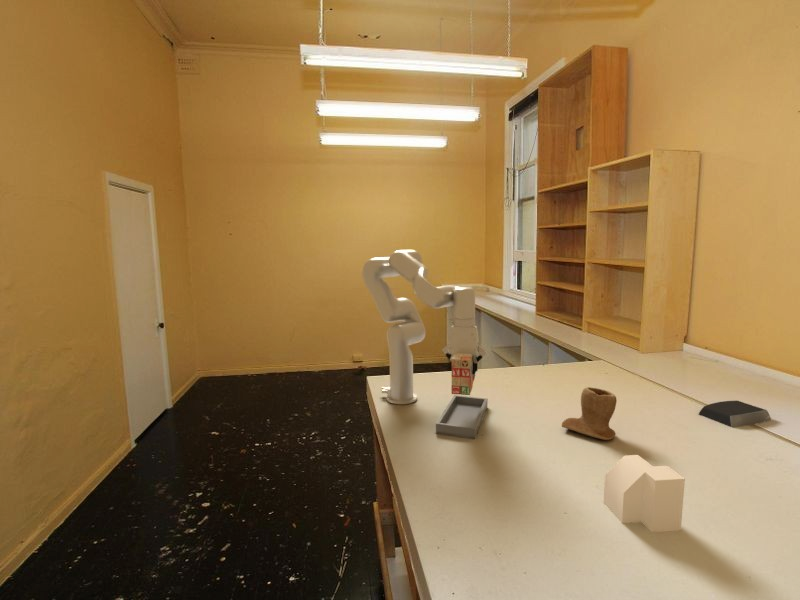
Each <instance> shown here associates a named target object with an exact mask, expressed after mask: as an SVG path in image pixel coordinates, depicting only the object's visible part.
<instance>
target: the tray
mask: <svg viewBox="0 0 800 600" xmlns="http://www.w3.org/2000/svg"><path fill="white" fill-rule="evenodd" d="M487 410H488V398H483V397H475V396H468V395H459V394H453V396H452V398H451V399H450V401H449V403H448V404H447V406H446V407H445V409H444V410H443V412H442V414H441V415H440V417H439V418H438V420H437V421H436V423H435V434H437V435H443V436H451V437H456V438H457V437H458V438H463V439H471V440H475V439H476V437H477V434H478V433H479V430H480V428H481V425H482V421H483V419H484V417H485V415H486V412H487Z"/></svg>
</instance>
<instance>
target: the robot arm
mask: <svg viewBox="0 0 800 600" xmlns="http://www.w3.org/2000/svg"><path fill="white" fill-rule="evenodd" d="M361 273H362V280H363V283H364V285H365V286H366V289H367V290H368V291H369V293H370V295H371V296H372V299H373V302H374V304H375V306H376V309H377V311H378V313H379V315H380V317H381V319H382V320H383V322H385V323H387V324H388V323H389V324H390V323H391V324H392V323H395V324H392V325H391V326H390V327H389V328H388V329H387V331H386V341H387V347H388V355H389V356H388V357H389V386H388V387H386V386H381V388H380V391H381V393H382V394H386V397H385V398H386V401H387V402H388V403H391V404H394V405H409V404H413V403H414V402H416V401H417V400H418V395H417V393H415V392H414V363H413V362H414V357H413V352H412V351H411V349H410V346H411V345H415V344H417V343H420V342H422V341H424V340H425V337H426V328H425V325H424V322H423V320H422V318H421V316H420V314H419V311H418V310H417V307H416V305H415V303H414V302H413V301H412V300H411V299H410V298H407V297H398V298H397V297H396V296H395V295H394V293H393V290H392V288H391V286H390V285H389V284H388V283H387V282H386V281H385V280H384V279H383V278H394V277H400V276H401V277H402V278H403V279H405V280H406V281H407V282H409V283H410V284H411V286H412V289H413V292H414V294H415V296H416V297H417V298H418V299H419V300H420V301H422V302H423V303H424V304H426V306H428V307H430V308H433V309H441V308H447V307H453V309H452V311H453V312H452V314H453V317H452V318H449V320H448V323H451V324H452V325H451V326H450V329H449V338H448V340H449V341H448V344H447V345H445V347H443V348H442V349H441V351H442V352H443V354H445V356H446V358H448V360H449V362H450V370H452V357H453V355H454V354H455V353H464V354H472V359H473V370H472V374H475V375H476V373H477V372H478V363H479V361H481V360H482V359H483V358H484V357H485V356H486V355H487V353H488V352H487V350H486V349H485V348H484V347H482V345H480V344H479V343H480V342H479V341H480V340H479V339H480V338H479V331H478V327H477V325H476V290H475V288H473V287H469V286H467V287H466V286H456V285H449V284H448V285H442V286H436V285H433V284H432V283H431V282H429V281H428V280H427V278H428V275H429V268H428V267H427V266H426V265H425V264H423V257H422V255H421V253H419V251H417V250H415V249H399V250H395V251H393V252H392V253H391V254H390V255H389V256H384V257H383V256H381V257H379V256H378V257H371V258H370V259H368V260H366V261H365V262H364V264H363V266H362V272H361ZM396 322H399V323H396ZM479 352H480V354H479V355H478V353H479Z"/></svg>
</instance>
